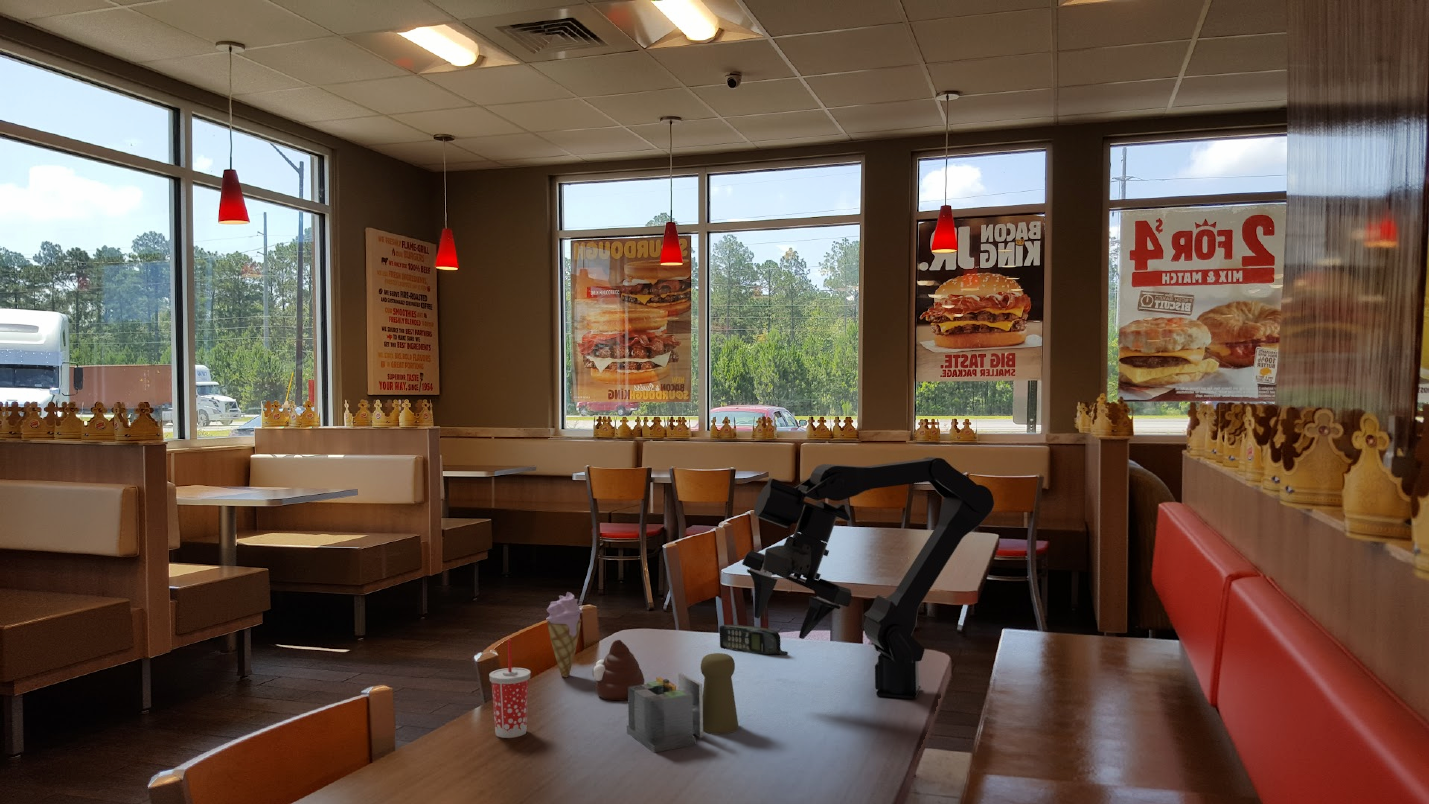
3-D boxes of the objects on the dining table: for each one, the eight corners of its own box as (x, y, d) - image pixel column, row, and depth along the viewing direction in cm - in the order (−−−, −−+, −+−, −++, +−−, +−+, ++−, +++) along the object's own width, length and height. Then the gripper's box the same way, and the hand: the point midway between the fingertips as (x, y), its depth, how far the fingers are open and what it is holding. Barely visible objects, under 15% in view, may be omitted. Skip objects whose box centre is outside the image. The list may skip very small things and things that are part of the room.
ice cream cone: (591, 674, 180) (590, 592, 180) (568, 683, 175) (567, 598, 175) (563, 669, 184) (562, 589, 184) (540, 678, 179) (539, 594, 179)
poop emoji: (641, 701, 164) (640, 645, 164) (590, 702, 164) (589, 645, 164) (646, 684, 174) (645, 631, 174) (598, 685, 174) (597, 632, 174)
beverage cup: (539, 728, 151) (537, 636, 151) (518, 741, 145) (516, 645, 145) (503, 724, 153) (502, 633, 153) (482, 737, 147) (480, 643, 147)
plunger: (682, 723, 151) (681, 670, 151) (703, 736, 145) (702, 681, 145) (655, 728, 149) (654, 674, 149) (675, 742, 143) (674, 686, 143)
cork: (734, 734, 146) (733, 660, 146) (694, 732, 147) (693, 659, 147) (741, 721, 152) (740, 650, 152) (703, 720, 153) (702, 649, 153)
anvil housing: (666, 725, 151) (665, 678, 151) (695, 744, 142) (694, 694, 142) (626, 732, 148) (625, 684, 148) (654, 752, 139) (653, 701, 139)
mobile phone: (716, 625, 199) (781, 631, 190) (725, 622, 201) (789, 628, 193) (717, 649, 199) (782, 657, 190) (726, 646, 201) (790, 654, 193)
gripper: (741, 511, 162) (707, 601, 161) (834, 546, 150) (799, 644, 149) (776, 524, 171) (744, 610, 169) (867, 558, 159) (834, 651, 158)
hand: (778, 627), depth 161 cm, fingers open, 9 cm apart
